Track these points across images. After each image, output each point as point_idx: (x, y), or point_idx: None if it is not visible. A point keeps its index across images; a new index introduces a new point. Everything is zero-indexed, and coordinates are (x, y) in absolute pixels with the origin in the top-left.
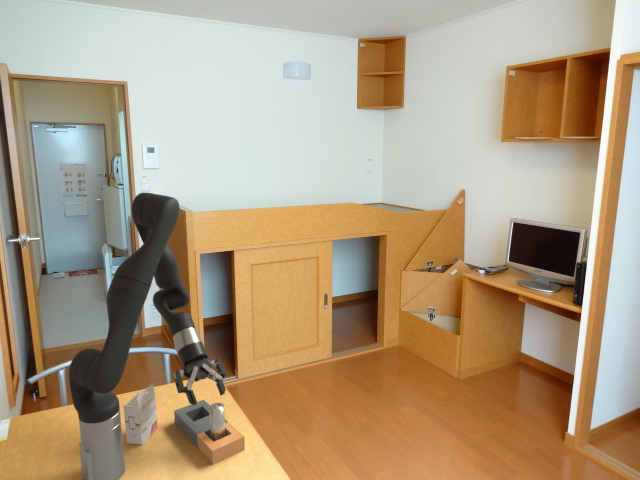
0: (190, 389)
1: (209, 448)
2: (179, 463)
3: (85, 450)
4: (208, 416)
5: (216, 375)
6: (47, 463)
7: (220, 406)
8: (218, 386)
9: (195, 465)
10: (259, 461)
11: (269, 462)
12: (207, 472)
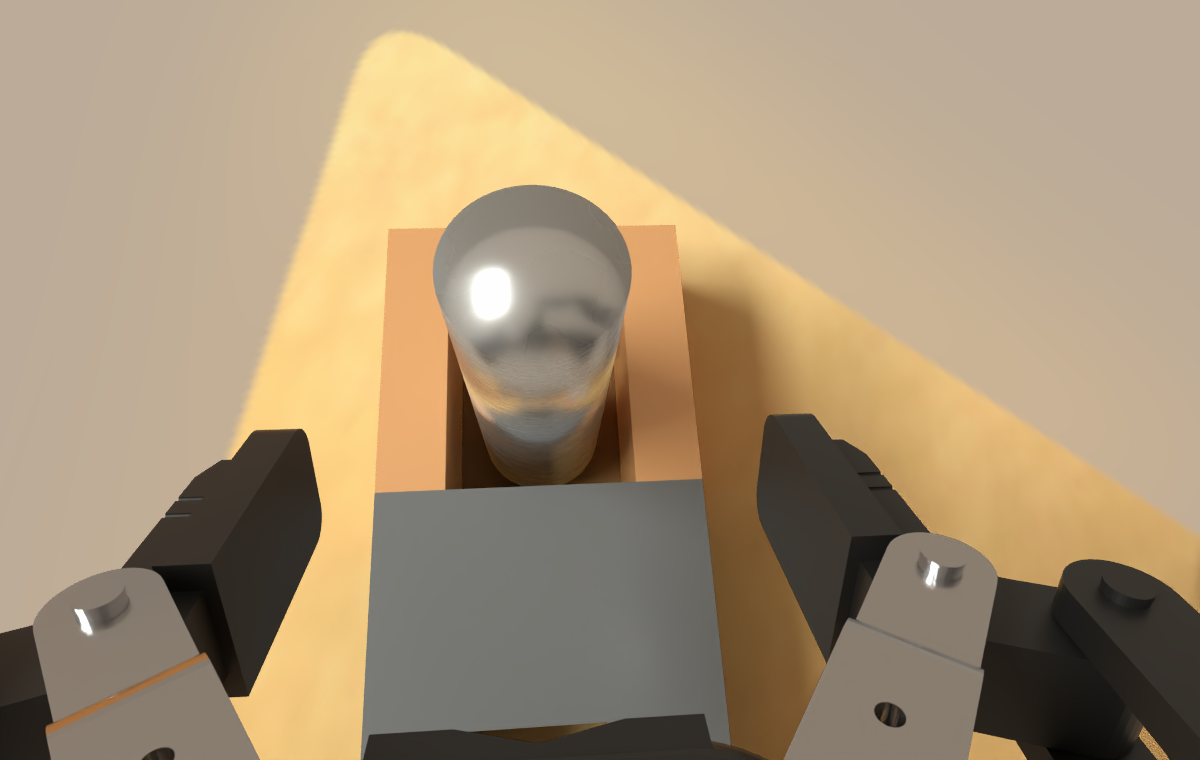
0: (906, 538)
1: (678, 271)
2: (845, 420)
3: None
4: (483, 712)
5: (132, 670)
6: None
7: (491, 246)
8: (265, 581)
9: (758, 339)
10: (406, 143)
11: (364, 104)
12: (715, 240)
